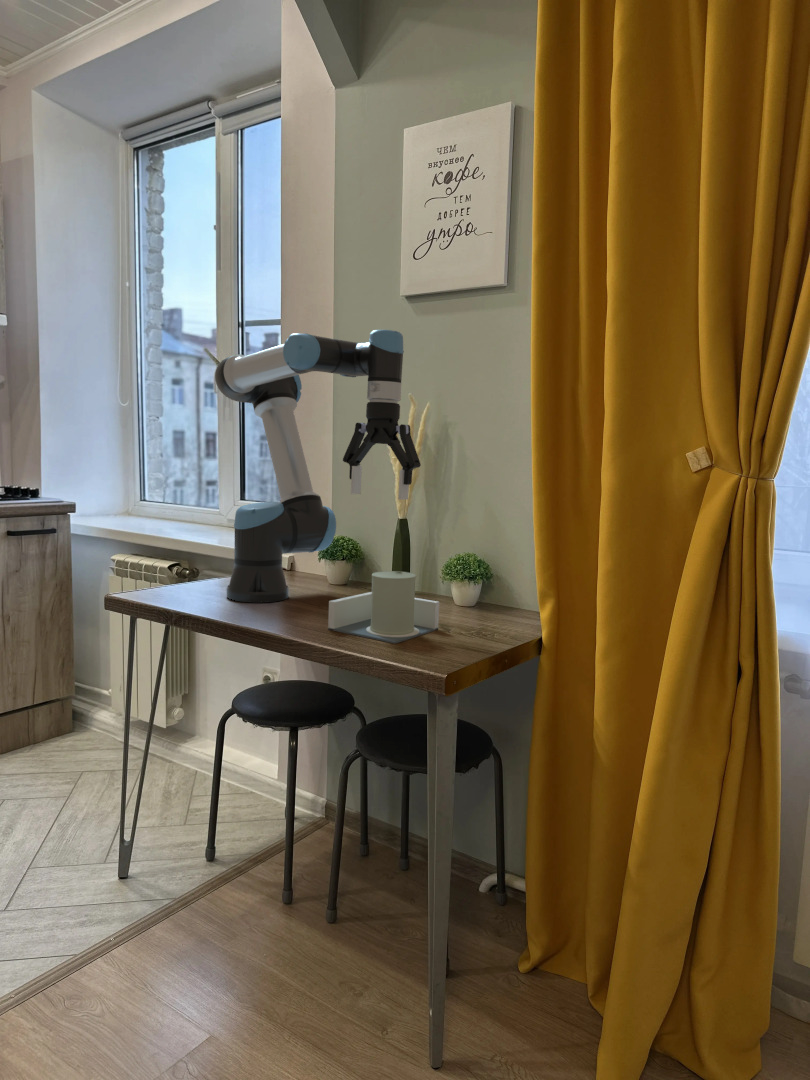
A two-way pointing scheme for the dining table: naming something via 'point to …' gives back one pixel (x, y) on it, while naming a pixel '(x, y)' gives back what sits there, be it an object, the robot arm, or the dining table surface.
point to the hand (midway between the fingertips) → (378, 496)
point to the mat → (364, 631)
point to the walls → (360, 610)
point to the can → (393, 602)
